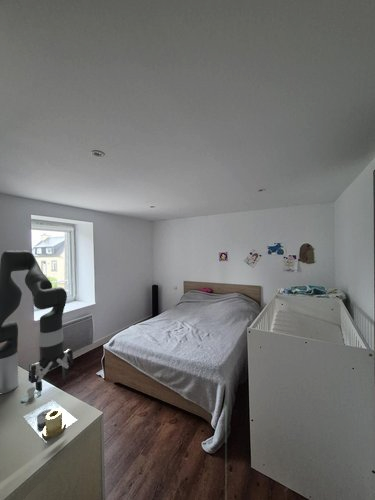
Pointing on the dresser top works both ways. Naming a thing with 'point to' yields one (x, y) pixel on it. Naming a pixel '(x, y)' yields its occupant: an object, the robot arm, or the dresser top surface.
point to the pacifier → (31, 394)
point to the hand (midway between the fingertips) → (52, 383)
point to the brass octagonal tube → (53, 424)
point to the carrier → (38, 416)
